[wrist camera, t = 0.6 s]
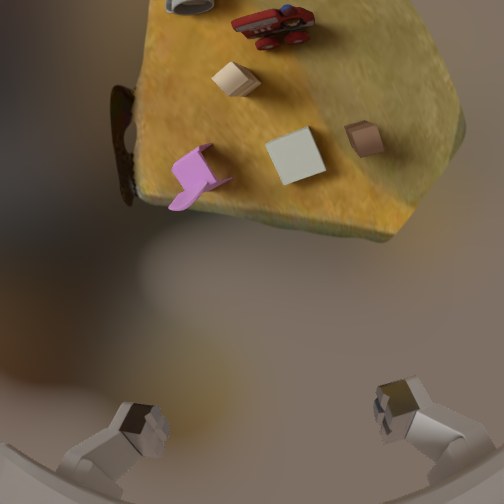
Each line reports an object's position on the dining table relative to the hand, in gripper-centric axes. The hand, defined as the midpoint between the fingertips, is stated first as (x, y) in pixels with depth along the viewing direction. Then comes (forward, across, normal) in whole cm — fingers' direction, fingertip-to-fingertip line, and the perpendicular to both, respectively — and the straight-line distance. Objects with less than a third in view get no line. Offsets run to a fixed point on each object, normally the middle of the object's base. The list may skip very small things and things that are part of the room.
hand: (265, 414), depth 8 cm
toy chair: (+48, +10, -11) cm, 50 cm away
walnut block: (+41, -18, -12) cm, 47 cm away
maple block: (+42, 0, -25) cm, 49 cm away
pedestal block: (+44, -7, -10) cm, 46 cm away
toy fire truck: (+39, -8, -34) cm, 52 cm away
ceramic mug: (+39, +6, -46) cm, 60 cm away
